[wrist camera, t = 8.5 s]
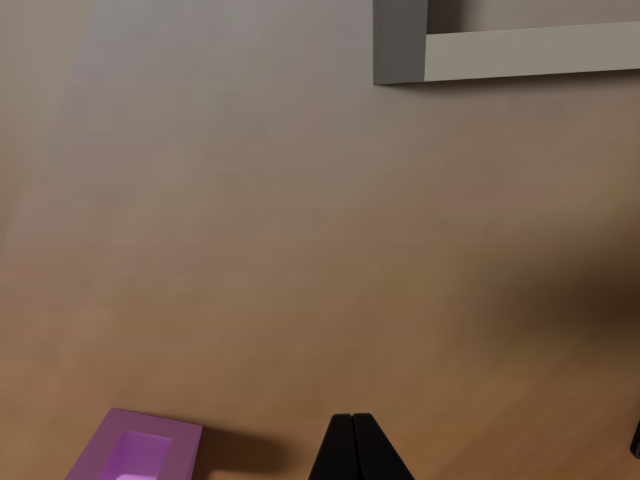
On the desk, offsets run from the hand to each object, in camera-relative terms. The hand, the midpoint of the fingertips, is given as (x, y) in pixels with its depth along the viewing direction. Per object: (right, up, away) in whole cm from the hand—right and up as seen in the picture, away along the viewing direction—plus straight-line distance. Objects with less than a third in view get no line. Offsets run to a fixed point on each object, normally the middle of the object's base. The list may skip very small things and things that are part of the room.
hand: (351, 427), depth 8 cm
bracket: (-12, -12, +17) cm, 25 cm away
